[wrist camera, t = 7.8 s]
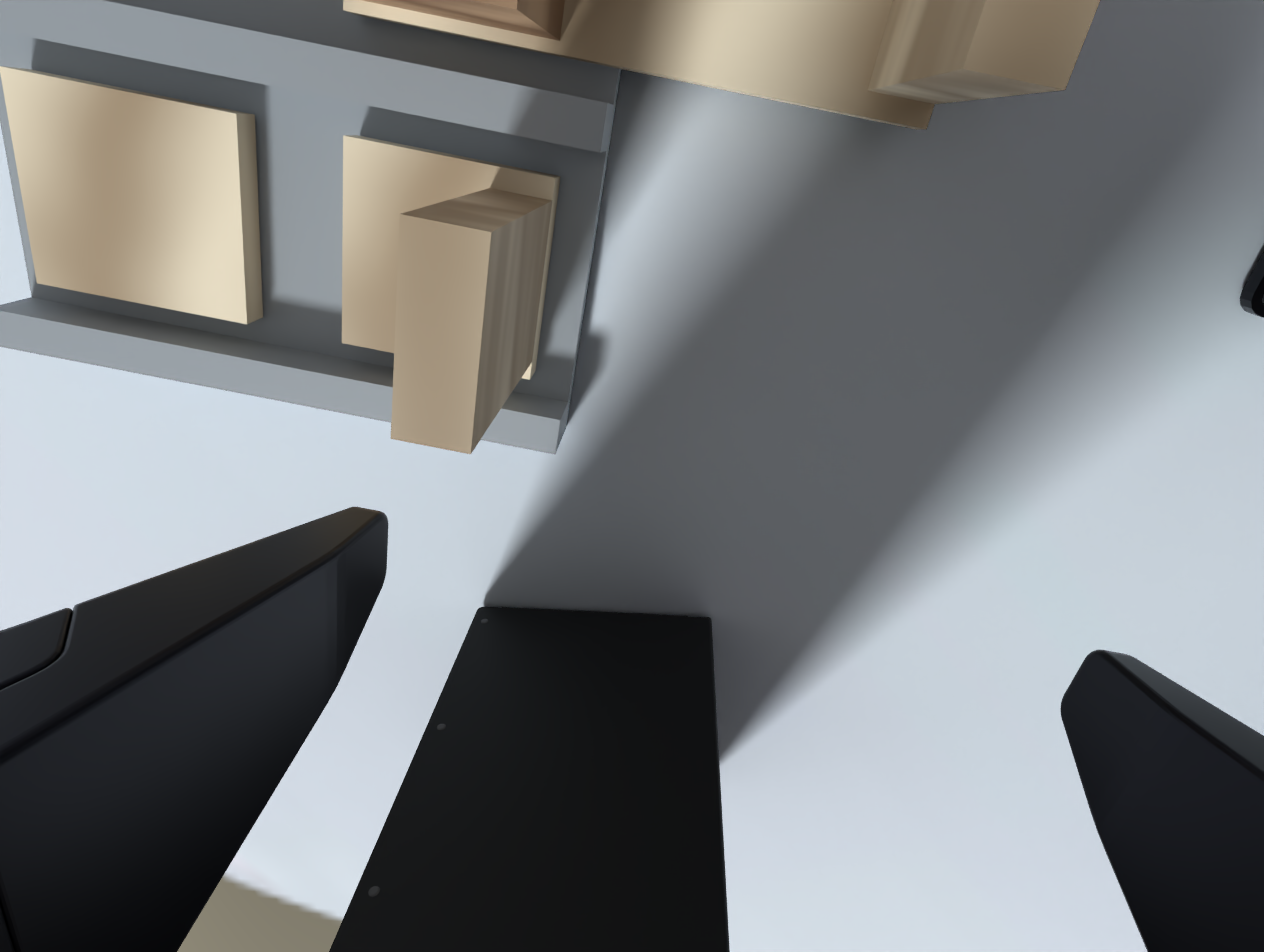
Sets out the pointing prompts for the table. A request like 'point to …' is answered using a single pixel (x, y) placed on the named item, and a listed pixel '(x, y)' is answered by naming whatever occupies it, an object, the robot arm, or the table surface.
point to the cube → (494, 13)
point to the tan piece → (815, 47)
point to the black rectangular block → (558, 796)
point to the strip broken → (230, 238)
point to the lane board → (318, 183)
